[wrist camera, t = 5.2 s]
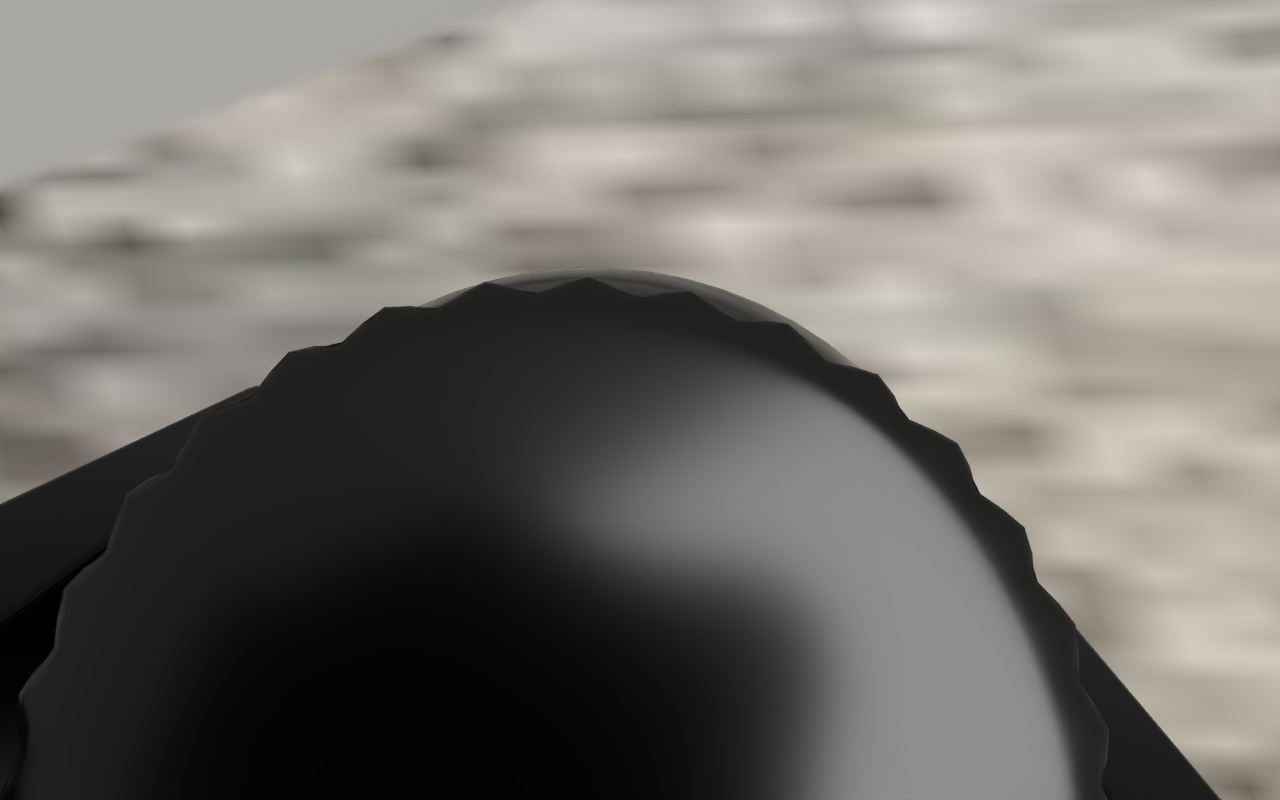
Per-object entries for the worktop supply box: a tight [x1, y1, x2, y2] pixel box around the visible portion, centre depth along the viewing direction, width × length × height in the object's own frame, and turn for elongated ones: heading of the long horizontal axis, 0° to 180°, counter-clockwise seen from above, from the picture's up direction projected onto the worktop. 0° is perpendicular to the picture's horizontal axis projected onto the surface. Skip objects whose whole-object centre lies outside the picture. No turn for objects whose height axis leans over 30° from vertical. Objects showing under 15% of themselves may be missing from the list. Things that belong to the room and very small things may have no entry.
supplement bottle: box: [0, 268, 1109, 800], centre depth 10 cm, size 7×7×12 cm
